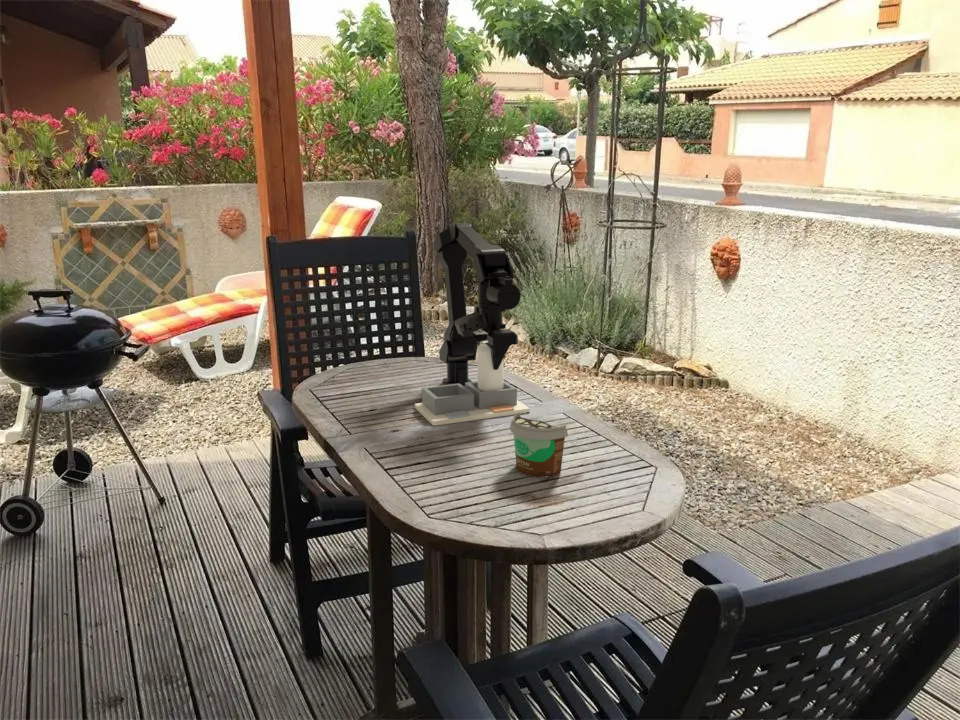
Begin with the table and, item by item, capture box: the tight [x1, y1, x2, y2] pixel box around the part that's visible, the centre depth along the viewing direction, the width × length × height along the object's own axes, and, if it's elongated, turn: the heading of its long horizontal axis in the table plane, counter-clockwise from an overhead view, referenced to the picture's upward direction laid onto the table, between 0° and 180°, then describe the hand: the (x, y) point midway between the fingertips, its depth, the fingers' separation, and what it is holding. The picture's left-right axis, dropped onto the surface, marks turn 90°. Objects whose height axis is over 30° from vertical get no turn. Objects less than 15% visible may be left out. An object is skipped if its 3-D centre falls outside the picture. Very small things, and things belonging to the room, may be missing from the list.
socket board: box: [414, 379, 531, 426], centre depth 183 cm, size 14×24×5 cm, turn 112°
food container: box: [509, 412, 569, 478], centre depth 146 cm, size 12×6×10 cm, turn 47°
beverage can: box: [476, 340, 504, 392], centre depth 185 cm, size 6×6×12 cm
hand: (490, 366), depth 185 cm, fingers closed on beverage can, 6 cm apart
